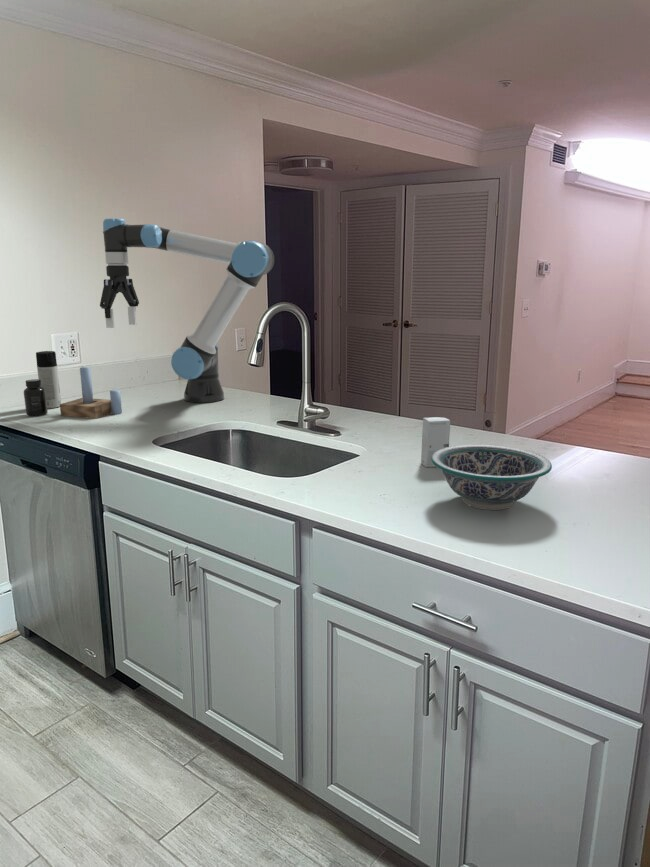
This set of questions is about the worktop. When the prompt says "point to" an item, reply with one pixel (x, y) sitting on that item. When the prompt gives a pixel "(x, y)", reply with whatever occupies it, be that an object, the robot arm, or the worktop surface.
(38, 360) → the spray can
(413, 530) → the worktop surface
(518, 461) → the bowl
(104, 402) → the collar block
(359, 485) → the worktop surface
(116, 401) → the short dowel
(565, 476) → the worktop surface
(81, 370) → the long dowel
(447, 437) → the skincare box
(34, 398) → the supplement bottle
